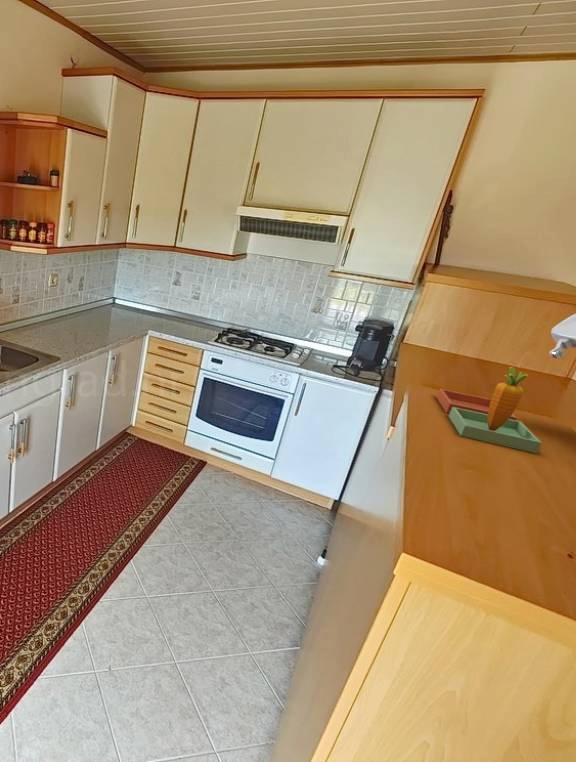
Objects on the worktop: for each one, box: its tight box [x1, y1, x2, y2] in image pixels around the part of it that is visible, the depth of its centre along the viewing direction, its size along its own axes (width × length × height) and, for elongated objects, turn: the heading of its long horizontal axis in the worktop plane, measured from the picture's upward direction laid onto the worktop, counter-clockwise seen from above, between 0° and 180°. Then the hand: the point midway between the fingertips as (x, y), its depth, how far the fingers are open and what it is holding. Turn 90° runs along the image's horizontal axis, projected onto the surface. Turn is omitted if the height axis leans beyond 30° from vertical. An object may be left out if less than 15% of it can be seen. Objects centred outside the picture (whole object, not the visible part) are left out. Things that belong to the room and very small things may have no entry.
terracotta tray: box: [436, 388, 518, 421], centre depth 124 cm, size 13×13×3 cm
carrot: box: [487, 366, 529, 431], centre depth 108 cm, size 5×5×15 cm
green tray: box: [448, 407, 542, 454], centre depth 110 cm, size 13×13×3 cm
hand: (574, 362), depth 105 cm, fingers open, 8 cm apart
